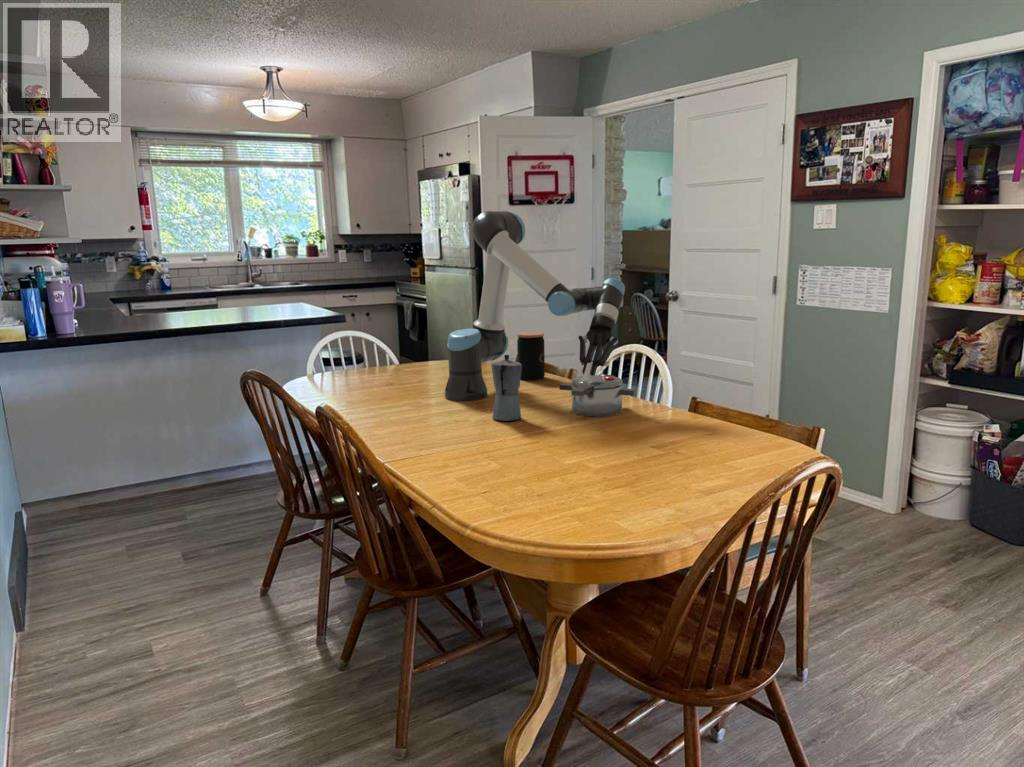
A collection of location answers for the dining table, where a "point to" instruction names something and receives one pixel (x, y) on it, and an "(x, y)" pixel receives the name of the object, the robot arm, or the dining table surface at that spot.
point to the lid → (595, 384)
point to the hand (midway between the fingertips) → (585, 383)
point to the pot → (598, 401)
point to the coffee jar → (531, 355)
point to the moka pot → (506, 389)
